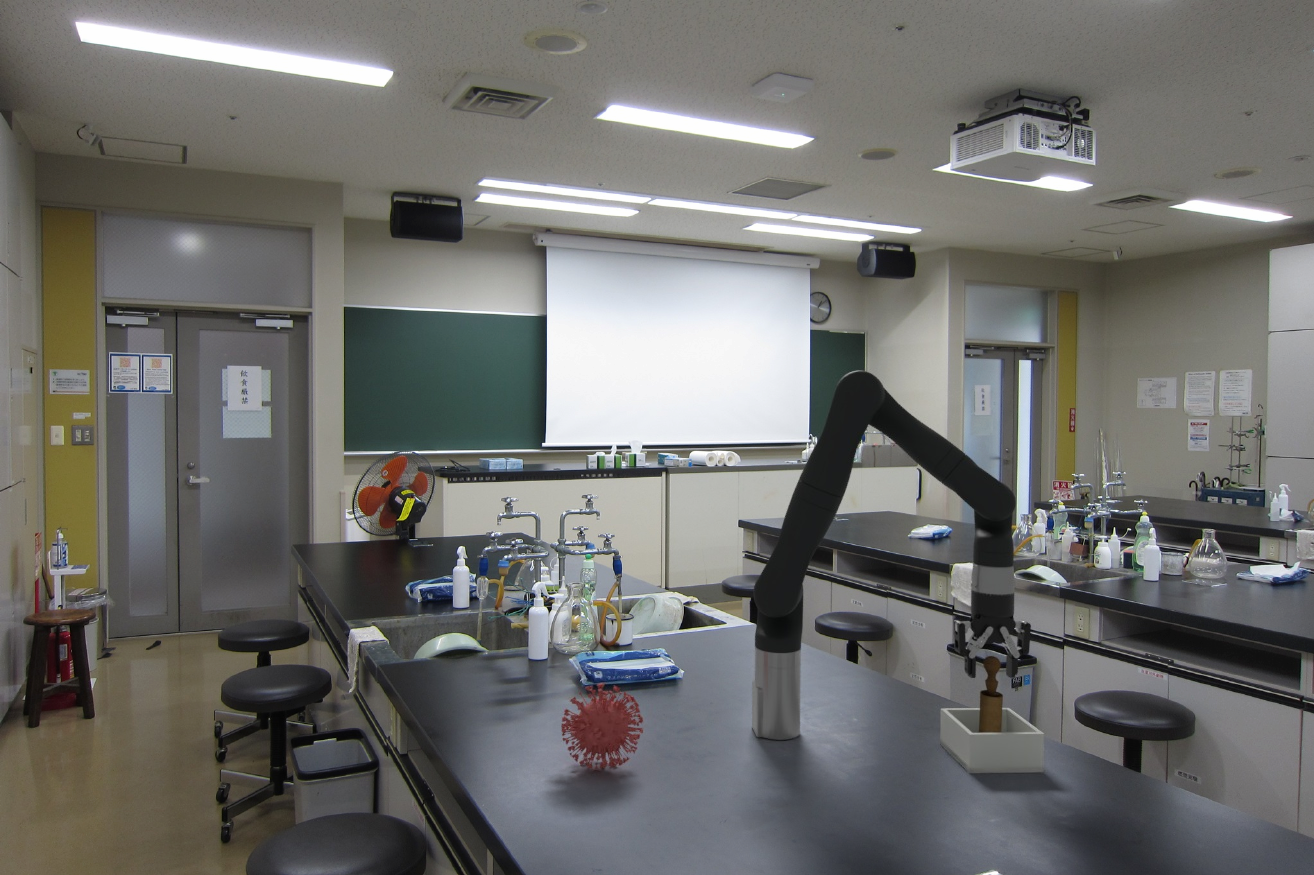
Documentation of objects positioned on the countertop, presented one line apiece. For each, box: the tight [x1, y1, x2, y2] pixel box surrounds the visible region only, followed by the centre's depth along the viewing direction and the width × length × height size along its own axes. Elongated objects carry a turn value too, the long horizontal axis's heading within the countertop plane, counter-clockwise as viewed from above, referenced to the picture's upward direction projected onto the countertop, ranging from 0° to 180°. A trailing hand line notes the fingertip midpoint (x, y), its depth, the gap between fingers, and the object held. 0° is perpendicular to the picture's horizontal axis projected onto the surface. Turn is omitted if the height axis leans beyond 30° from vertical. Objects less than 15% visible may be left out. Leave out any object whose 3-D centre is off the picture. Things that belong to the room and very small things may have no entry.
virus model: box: [560, 682, 644, 771], centre depth 153 cm, size 15×15×15 cm
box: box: [939, 707, 1045, 774], centre depth 159 cm, size 14×14×7 cm
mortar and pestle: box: [977, 655, 1004, 733], centre depth 159 cm, size 7×6×18 cm
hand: (991, 676), depth 159 cm, fingers open, 7 cm apart
